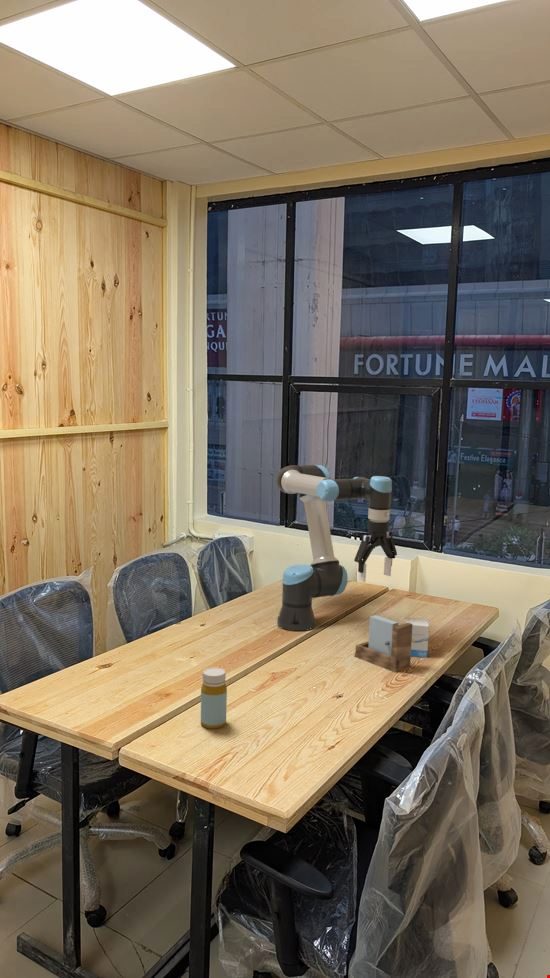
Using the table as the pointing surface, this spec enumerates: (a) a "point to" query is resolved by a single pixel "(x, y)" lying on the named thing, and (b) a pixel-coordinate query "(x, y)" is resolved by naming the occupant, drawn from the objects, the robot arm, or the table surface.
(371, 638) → the door
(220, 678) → the bottle
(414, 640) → the ink box
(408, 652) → the track
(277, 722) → the table surface
